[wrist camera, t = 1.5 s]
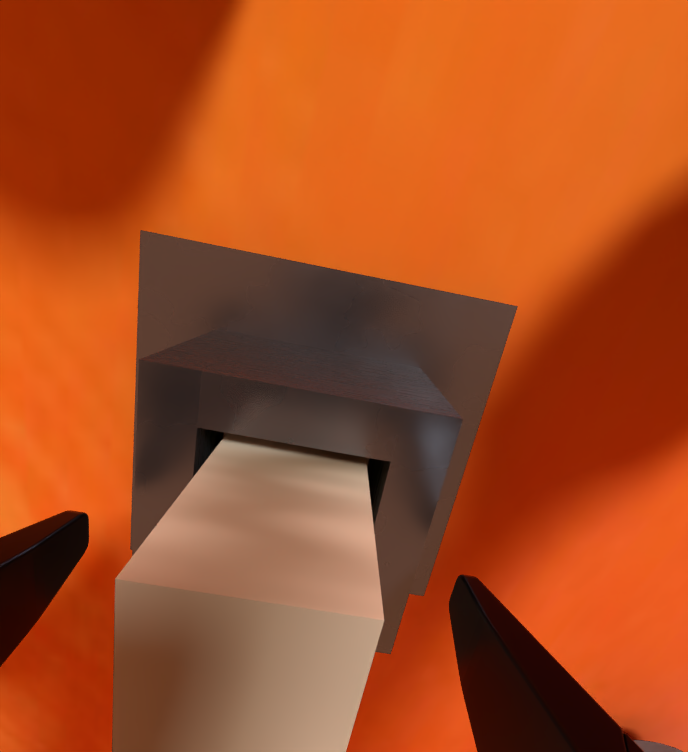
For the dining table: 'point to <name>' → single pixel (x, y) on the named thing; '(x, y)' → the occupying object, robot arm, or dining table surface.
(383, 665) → the dining table surface
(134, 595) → the column
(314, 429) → the stand base
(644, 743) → the bluetooth speaker
